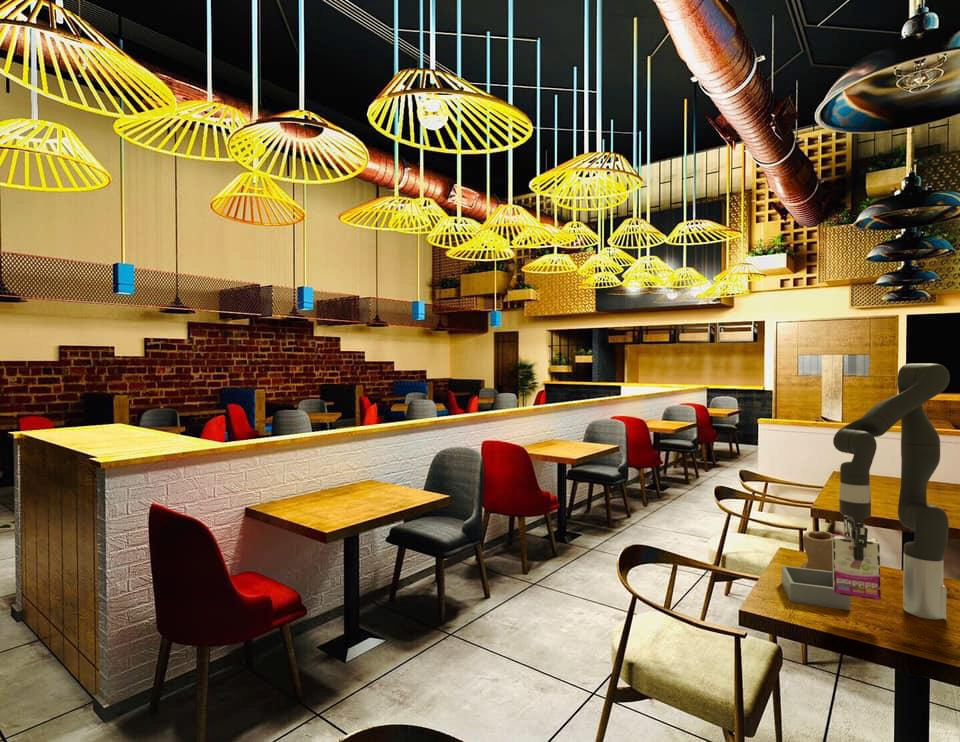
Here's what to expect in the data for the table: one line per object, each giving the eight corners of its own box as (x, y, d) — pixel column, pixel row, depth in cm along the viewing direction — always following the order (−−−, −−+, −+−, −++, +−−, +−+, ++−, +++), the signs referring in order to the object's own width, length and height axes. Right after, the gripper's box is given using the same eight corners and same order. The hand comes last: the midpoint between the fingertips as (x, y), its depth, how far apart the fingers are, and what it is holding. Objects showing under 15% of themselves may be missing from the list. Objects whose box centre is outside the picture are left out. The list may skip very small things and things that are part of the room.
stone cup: (799, 575, 190) (799, 533, 190) (802, 565, 199) (802, 525, 199) (850, 585, 181) (851, 541, 181) (851, 574, 191) (852, 532, 190)
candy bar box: (877, 594, 154) (877, 538, 154) (881, 601, 150) (880, 543, 150) (831, 587, 160) (831, 532, 159) (833, 593, 155) (833, 537, 155)
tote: (836, 589, 177) (836, 571, 177) (850, 610, 162) (850, 590, 162) (781, 582, 183) (781, 565, 183) (790, 602, 168) (790, 583, 168)
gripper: (879, 505, 147) (879, 567, 147) (862, 493, 160) (862, 550, 160) (846, 503, 149) (847, 564, 149) (833, 492, 163) (833, 547, 163)
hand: (855, 556), depth 155 cm, fingers closed on candy bar box, 5 cm apart
